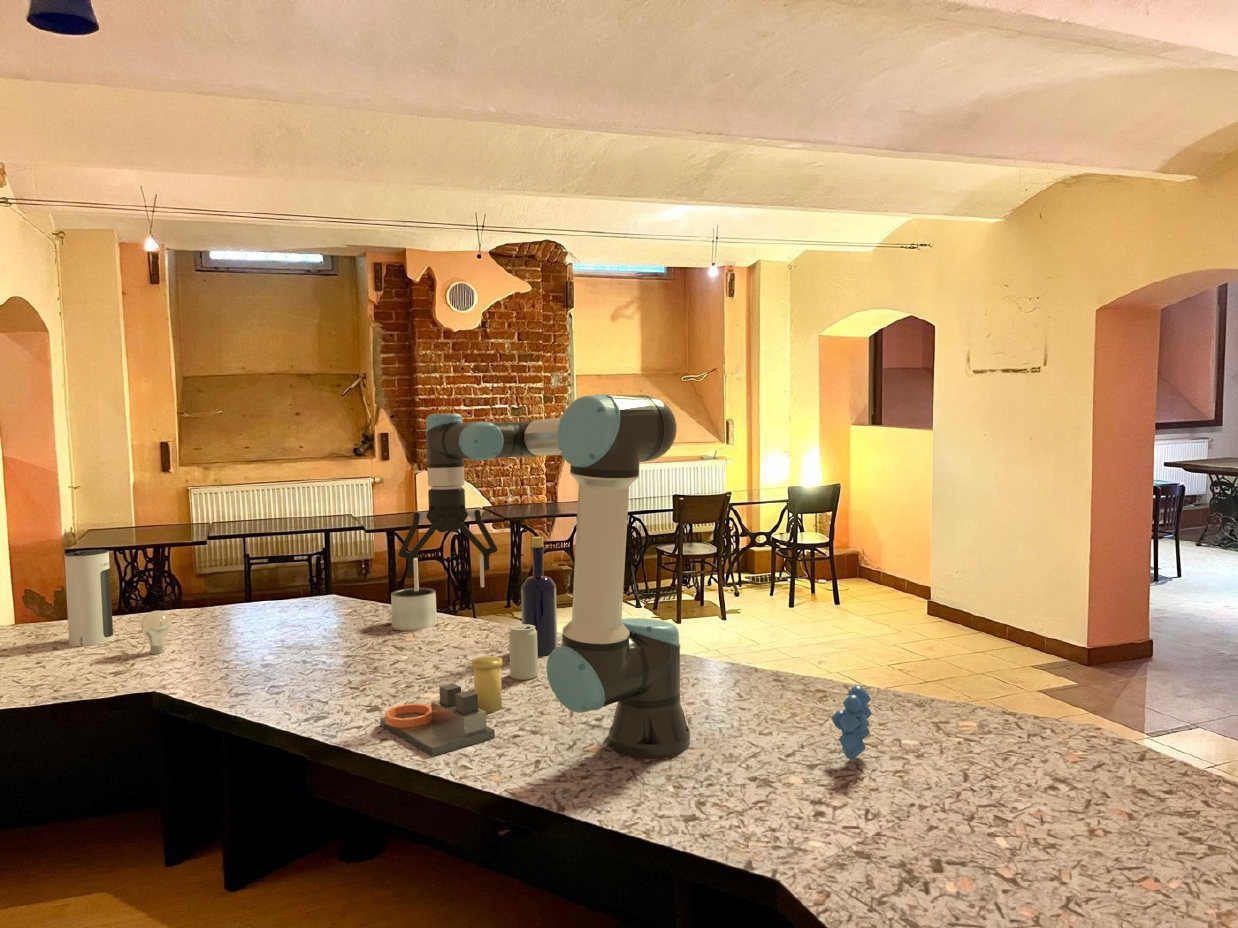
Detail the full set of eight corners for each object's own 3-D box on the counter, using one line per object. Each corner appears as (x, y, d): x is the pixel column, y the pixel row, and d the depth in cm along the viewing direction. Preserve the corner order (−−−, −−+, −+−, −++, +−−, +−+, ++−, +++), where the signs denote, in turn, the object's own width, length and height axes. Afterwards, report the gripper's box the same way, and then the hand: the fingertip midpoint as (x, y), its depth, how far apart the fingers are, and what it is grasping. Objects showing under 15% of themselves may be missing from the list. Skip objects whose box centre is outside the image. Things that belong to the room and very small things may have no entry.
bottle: (543, 662, 209) (541, 540, 208) (514, 657, 214) (511, 538, 213) (565, 653, 217) (563, 536, 216) (536, 648, 222) (534, 534, 220)
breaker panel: (494, 737, 160) (494, 711, 160) (432, 756, 152) (431, 728, 151) (439, 709, 176) (438, 686, 176) (380, 725, 167) (379, 700, 167)
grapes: (841, 739, 156) (841, 675, 156) (878, 746, 153) (878, 680, 152) (821, 761, 146) (820, 693, 146) (860, 769, 143) (860, 699, 142)
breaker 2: (478, 717, 160) (477, 693, 160) (464, 721, 158) (463, 697, 158) (469, 713, 163) (469, 690, 162) (455, 717, 161) (455, 693, 160)
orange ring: (441, 719, 166) (441, 711, 166) (398, 730, 160) (398, 723, 160) (419, 707, 173) (419, 700, 173) (377, 718, 167) (377, 711, 167)
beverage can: (533, 682, 193) (532, 630, 192) (506, 681, 194) (505, 629, 194) (541, 674, 199) (540, 623, 199) (515, 673, 201) (514, 622, 200)
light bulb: (178, 655, 221) (176, 609, 220) (151, 661, 215) (149, 614, 215) (163, 651, 225) (161, 606, 224) (137, 658, 219) (134, 611, 218)
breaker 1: (461, 709, 165) (461, 686, 165) (447, 713, 163) (447, 690, 163) (453, 705, 167) (453, 683, 167) (440, 709, 165) (439, 686, 165)
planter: (384, 635, 238) (383, 596, 238) (402, 624, 251) (401, 587, 250) (426, 636, 236) (425, 596, 235) (443, 625, 248) (442, 587, 248)
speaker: (98, 651, 226) (93, 553, 225) (59, 651, 227) (54, 554, 225) (121, 640, 237) (117, 547, 236) (84, 641, 237) (80, 548, 236)
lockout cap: (509, 708, 176) (508, 660, 176) (483, 715, 172) (482, 666, 172) (492, 701, 181) (491, 654, 180) (467, 707, 177) (466, 660, 176)
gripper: (505, 484, 184) (508, 581, 185) (386, 488, 180) (389, 588, 181) (507, 486, 177) (510, 587, 178) (383, 491, 172) (387, 595, 173)
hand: (449, 588), depth 179 cm, fingers open, 13 cm apart
